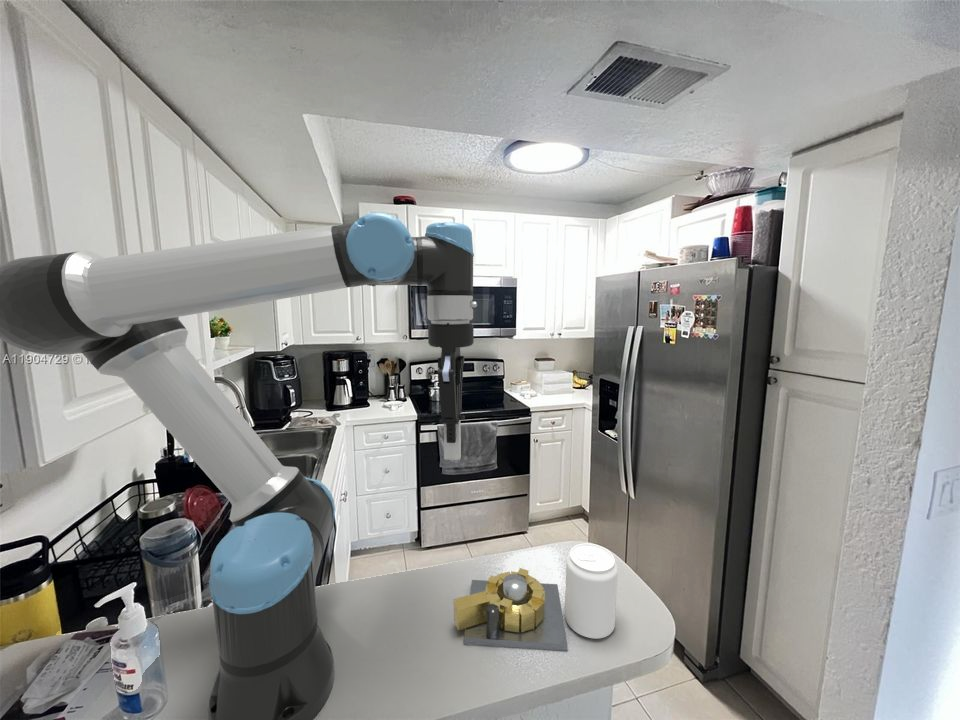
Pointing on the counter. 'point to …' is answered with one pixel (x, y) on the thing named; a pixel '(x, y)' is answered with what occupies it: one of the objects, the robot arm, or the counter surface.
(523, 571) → the segmented ring with handle
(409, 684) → the counter surface
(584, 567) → the beverage can
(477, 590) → the plate
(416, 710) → the counter surface
